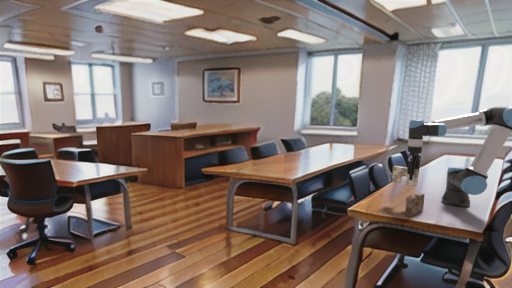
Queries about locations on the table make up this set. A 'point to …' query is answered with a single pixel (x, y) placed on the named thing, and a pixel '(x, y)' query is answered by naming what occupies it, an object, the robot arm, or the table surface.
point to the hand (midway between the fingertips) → (412, 184)
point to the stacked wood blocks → (402, 171)
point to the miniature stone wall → (414, 204)
